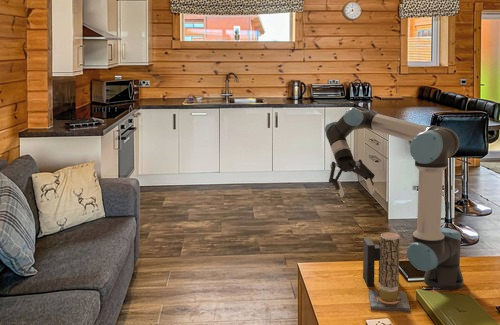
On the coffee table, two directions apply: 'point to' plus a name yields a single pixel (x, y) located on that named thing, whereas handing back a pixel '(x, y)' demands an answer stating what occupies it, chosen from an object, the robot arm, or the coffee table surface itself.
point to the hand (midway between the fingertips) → (357, 194)
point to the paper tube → (389, 266)
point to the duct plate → (388, 302)
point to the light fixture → (370, 261)
